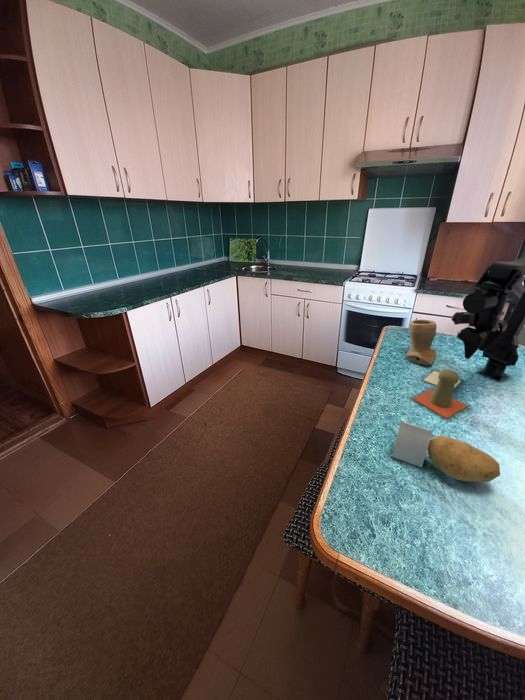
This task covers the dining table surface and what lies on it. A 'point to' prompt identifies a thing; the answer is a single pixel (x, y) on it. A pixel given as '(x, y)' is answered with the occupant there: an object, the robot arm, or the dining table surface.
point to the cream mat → (436, 379)
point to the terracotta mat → (443, 412)
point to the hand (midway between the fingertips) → (473, 354)
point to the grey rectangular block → (412, 443)
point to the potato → (462, 460)
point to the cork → (444, 389)
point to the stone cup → (422, 341)
